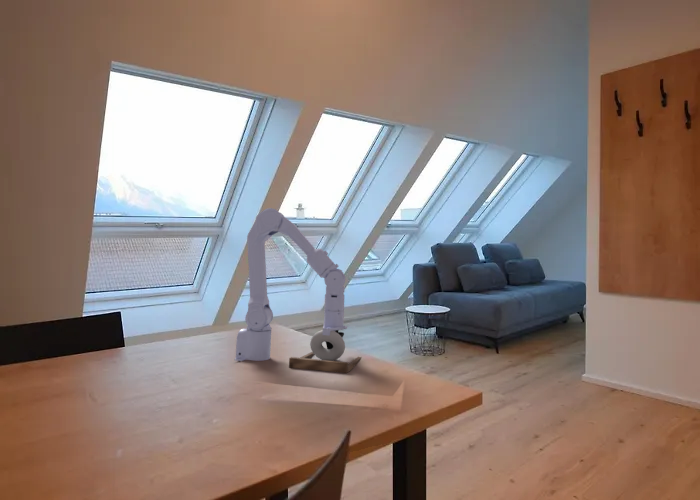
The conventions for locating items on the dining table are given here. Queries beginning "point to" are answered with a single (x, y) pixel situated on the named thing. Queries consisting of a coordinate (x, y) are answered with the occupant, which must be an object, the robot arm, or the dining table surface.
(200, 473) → the dining table surface
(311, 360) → the guide track
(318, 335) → the donut
